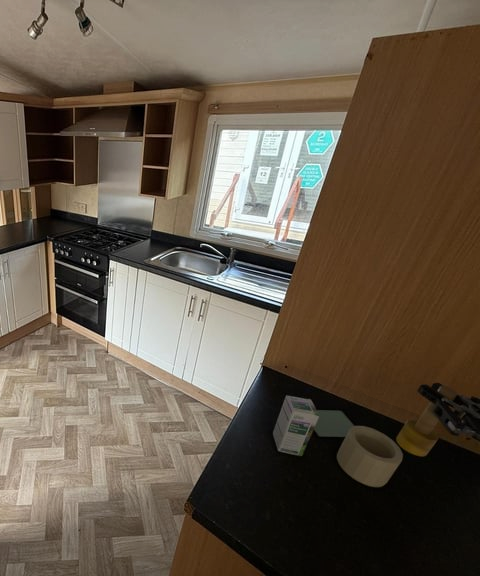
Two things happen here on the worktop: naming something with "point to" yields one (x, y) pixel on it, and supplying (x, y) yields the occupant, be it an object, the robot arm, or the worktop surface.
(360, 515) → the worktop surface
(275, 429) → the syrup box
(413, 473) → the worktop surface
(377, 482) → the cream tape roll
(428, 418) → the sponge brush
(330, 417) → the grey hexagonal plate
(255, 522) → the worktop surface
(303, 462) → the worktop surface
